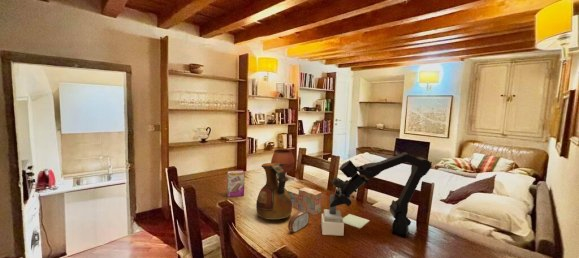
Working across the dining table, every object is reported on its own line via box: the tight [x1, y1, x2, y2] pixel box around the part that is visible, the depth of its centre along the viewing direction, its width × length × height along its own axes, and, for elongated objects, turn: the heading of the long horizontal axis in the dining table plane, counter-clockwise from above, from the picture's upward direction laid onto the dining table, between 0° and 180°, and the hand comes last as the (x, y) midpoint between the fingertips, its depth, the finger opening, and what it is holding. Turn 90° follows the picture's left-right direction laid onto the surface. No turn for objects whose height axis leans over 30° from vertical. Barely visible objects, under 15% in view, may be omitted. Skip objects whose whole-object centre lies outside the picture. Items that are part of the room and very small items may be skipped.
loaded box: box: [320, 213, 345, 237], centre depth 128 cm, size 10×10×6 cm
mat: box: [342, 213, 370, 229], centre depth 139 cm, size 12×12×1 cm
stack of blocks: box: [287, 186, 322, 216], centre depth 154 cm, size 21×6×12 cm, turn 48°
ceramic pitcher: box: [255, 162, 293, 220], centre depth 141 cm, size 20×20×30 cm
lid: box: [323, 193, 343, 219], centre depth 127 cm, size 8×8×10 cm
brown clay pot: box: [270, 148, 296, 182], centre depth 210 cm, size 19×19×25 cm
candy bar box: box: [226, 170, 246, 198], centre depth 172 cm, size 11×5×16 cm, turn 108°
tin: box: [287, 210, 310, 233], centre depth 128 cm, size 15×3×8 cm, turn 141°
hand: (330, 204), depth 127 cm, fingers closed on lid, 3 cm apart
